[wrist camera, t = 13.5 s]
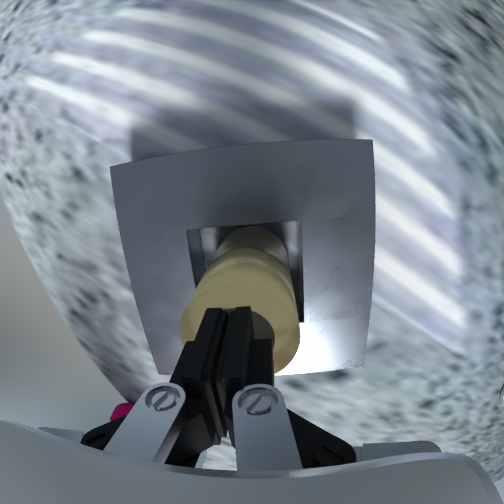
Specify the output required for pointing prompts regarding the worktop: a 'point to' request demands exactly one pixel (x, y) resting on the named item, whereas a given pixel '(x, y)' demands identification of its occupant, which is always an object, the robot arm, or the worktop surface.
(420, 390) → the worktop surface
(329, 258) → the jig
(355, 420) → the worktop surface
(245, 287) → the cylinder
